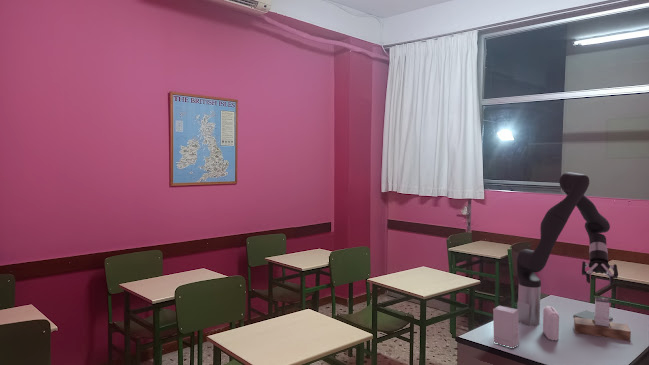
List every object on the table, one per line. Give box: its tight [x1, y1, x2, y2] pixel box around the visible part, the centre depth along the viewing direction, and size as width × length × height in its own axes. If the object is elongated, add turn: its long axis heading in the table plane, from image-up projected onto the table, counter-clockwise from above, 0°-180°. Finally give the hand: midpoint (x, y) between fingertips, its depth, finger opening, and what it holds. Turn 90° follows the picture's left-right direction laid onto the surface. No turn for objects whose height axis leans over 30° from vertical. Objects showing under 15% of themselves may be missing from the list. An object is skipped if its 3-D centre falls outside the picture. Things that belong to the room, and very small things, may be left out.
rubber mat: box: [572, 310, 614, 322], centre depth 213 cm, size 12×12×1 cm
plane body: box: [573, 317, 632, 342], centre depth 195 cm, size 20×9×4 cm, turn 64°
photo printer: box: [542, 305, 560, 341], centre depth 191 cm, size 10×4×12 cm, turn 169°
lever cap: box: [594, 296, 610, 328], centre depth 195 cm, size 5×6×12 cm
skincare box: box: [492, 305, 520, 348], centre depth 182 cm, size 8×6×15 cm
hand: (600, 283), depth 205 cm, fingers open, 8 cm apart
